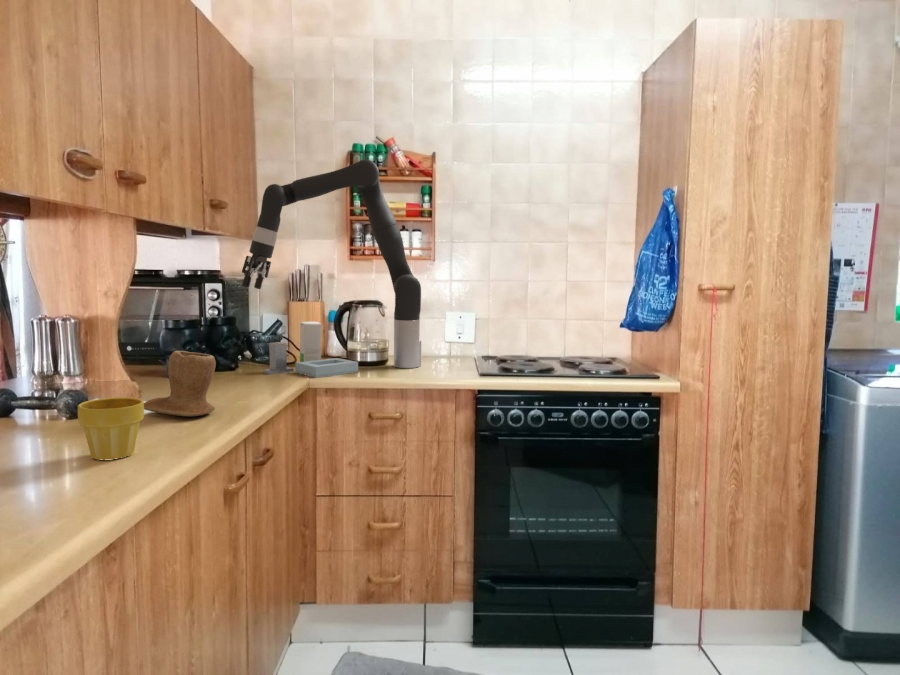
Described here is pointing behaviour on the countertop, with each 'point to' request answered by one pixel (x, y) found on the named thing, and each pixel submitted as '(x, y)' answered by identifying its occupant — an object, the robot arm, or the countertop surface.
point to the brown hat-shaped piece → (186, 385)
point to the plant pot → (111, 425)
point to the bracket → (277, 359)
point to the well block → (326, 367)
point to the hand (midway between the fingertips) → (251, 287)
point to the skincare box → (310, 341)
